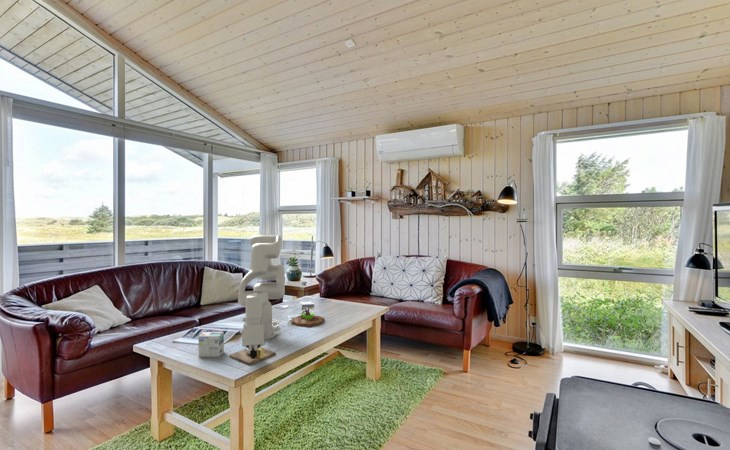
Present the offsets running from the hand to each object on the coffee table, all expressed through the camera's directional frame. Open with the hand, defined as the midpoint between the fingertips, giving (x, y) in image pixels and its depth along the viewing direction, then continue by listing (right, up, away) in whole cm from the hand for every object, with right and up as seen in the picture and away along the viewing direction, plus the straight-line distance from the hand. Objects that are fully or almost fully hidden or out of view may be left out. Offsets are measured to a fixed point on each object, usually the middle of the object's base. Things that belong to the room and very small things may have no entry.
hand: (253, 357), depth 177 cm
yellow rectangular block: (-1, 0, +6) cm, 7 cm away
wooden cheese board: (-3, -2, +8) cm, 8 cm away
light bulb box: (-24, -2, +9) cm, 26 cm away
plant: (+17, 0, +63) cm, 65 cm away
